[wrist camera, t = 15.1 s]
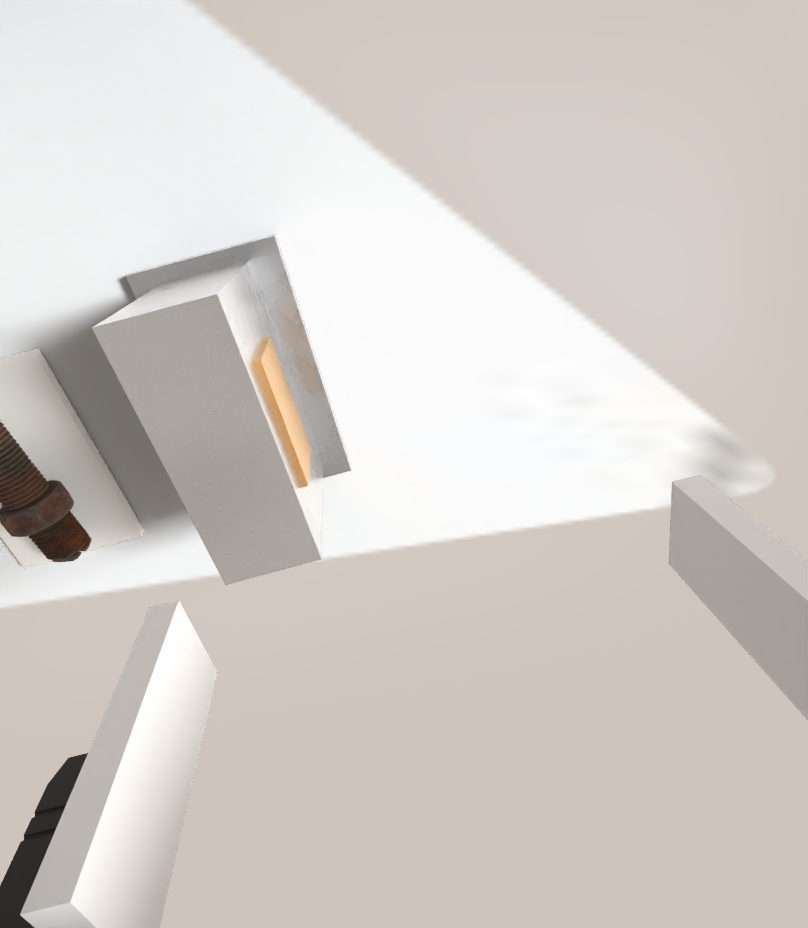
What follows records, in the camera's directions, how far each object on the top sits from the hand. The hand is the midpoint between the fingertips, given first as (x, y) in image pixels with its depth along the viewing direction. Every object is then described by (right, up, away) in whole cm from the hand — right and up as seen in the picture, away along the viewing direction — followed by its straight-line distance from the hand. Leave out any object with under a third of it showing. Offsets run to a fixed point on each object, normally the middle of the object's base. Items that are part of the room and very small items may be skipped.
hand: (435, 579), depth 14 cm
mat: (-29, +3, +27) cm, 40 cm away
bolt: (-29, +3, +26) cm, 39 cm away
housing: (-12, +9, +26) cm, 30 cm away
